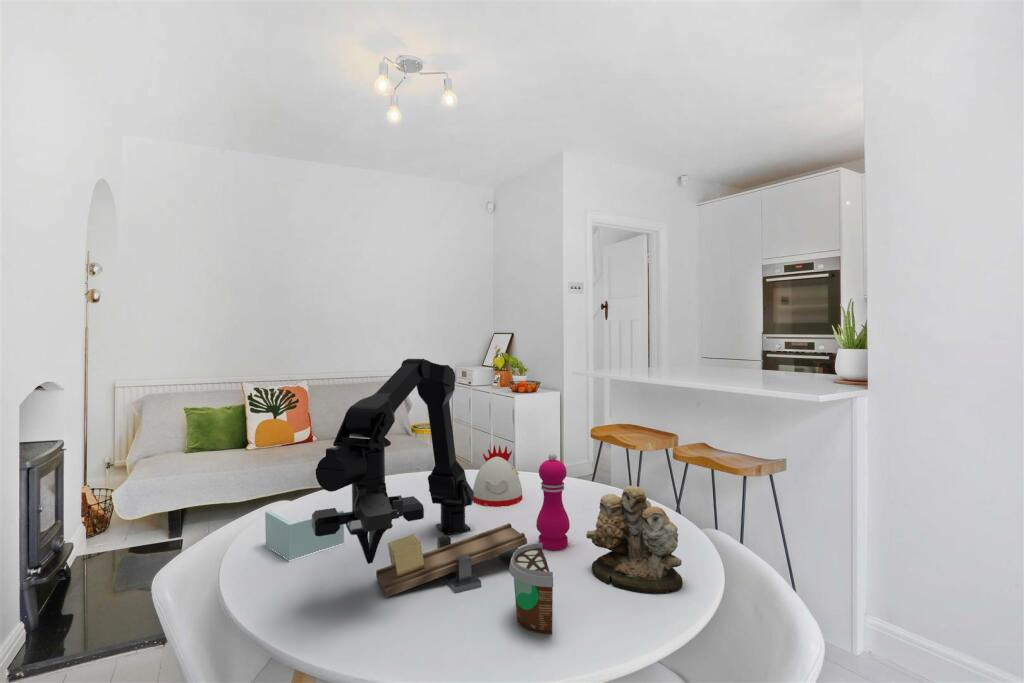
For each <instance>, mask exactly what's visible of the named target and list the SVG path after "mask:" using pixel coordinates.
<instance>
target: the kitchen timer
mask: <svg viewBox="0 0 1024 683" xmlns="http://www.w3.org/2000/svg"><path fill="white" fill-rule="evenodd" d="M512 452H513V449H511V450H510V451H509V453H508V446H507V445H505V447H504V451H502V449H501V445H500V444H499V446H498V451H497V449H496V445H495V444H493V449H492V452H491V450H490V449H489V448H488V449H487V453H488V457H487V456H486V455H485V453H484V452H483V453H482V456H483V459H484V460H485V462H483V464H482V465H481V467H480V469H479V470H478V472H477V474H476V478H475V480H474V484H473V488H472V490H473V492H474V498H473V502H472V503H474V504H476V505H478V506H482V507H483V506H484V507H488V506H489V507H490V508H492V507H493V508H497V507H498V508H500V507H501V506H504V507H510V505H511V506H514V505H517V504H519V503H521V502H522V501H523V489H522V488H523V487H522V483H521V480H520V478H519V472H518V470H516V469H515V467H514V466H513V464H512V463H511V462H510V461H509V460H510V457H511V455H512ZM521 500H522V501H521ZM520 501H521V502H520Z"/></svg>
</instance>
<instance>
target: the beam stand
mask: <svg viewBox="0 0 1024 683" xmlns="http://www.w3.org/2000/svg"><path fill="white" fill-rule="evenodd" d="M436 543H437V545H436V546H437V547H436V549H438V548H441V547H444V546H446V545H449V544H452V537H451V536H450V535H444V536H440V537H437V538H436ZM519 548H520V547H518V548H515V549H512V550H510V551H507V552H504V553H502V554H499V555H497V556H498V557H499V558H501V560H503V561H504V562H505V563H506V565H508V566H510V562H511V558H512V556H513V553H514V552H515V551H516V550H517V549H519ZM441 578H442V579H443V578H444V579H443V580H444V582H446V584H447V583H448V584H449V585H448V584H447V585H448V586H449V587H450V589H451V590H452V589H453V590H452V591H453V592H454V593H455V594H457V593H461V592H465V591H469V590H474V589H478V588H482V581H481V580H480V578H478V576H477V575H476V574H475V573H474V572H473V571H472V565H471V557H470V556H469V555H467V556H462V557H457V558H456V571H454V572H452V573H449V574H447V575H444V576H441Z"/></svg>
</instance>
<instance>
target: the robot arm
mask: <svg viewBox="0 0 1024 683" xmlns="http://www.w3.org/2000/svg"><path fill="white" fill-rule="evenodd" d="M455 382H456V373H455V371H454V369H453V368H452V367H451V366H450V365H448V364H440V363H439V364H438V363H435V362H431V361H429V360H427V359H425V358H407V359H404V360H402V362H401V365H400V367H399V368H398V369H397V370H395V373H393V374H392V375H391V376H390V377H389V378H388V379H387V380H386V382H384V383H383V385H382V386H381V387H380V388H379V389H378V390H377V391H376V392H375V393H373V394H372V395H370V396H367V397H364V398H362V399H359V400H358V401H357V402H355V403H354V404H352V405H351V406H350V407H349V408H348V409H347V410H346V412H345V415H344V417H343V420H342V423H341V424H340V427H339V429H338V431H337V433H336V434H337V435H336V437H335V438H334V441H333V443H332V445H333V447H328V448H326V449H325V456H324V457H322V458H321V459H320V460H319V461H318V463H317V465H316V468H315V479H316V481H317V483H318V485H319V486H320V487H321V488H322V489H323V490H325V491H327V492H329V493H330V492H331V493H332V492H336V491H338V490H341V489H343V488H345V487H349V486H351V511H347V512H344V513H339V514H338V512H337V511H338V509H336V507H331V508H325V509H318V510H315V511H314V512H313V513H312V514H311V518H312V528H313V531H314V534H315V536H325V535H331V534H336V532H337V531H338V530H339V529H340V525H343V524H344V525H345V527H346V529H347V530H348V533H349V534H350V535H351V536H355V535H356V537H357V539H358V541H359V545H360V547H361V549H362V553H363V555H364V558H365V561H366V563H367V564H368V565H369V564H373V562H374V559H375V557H376V553H377V551H378V547H379V544H380V542H381V539H382V538H383V535H384V534H385V532H387V531H388V530H390V529H392V528H393V526H394V525H393V520H396V519H400V517H402V518H403V519H404V520H405V521H407V522H412V521H413V522H414V521H418V520H423V519H424V518H425V508H424V504H423V503H422V502H420V501H419V499H417V497H415V496H413V495H412V496H406V497H405V496H404V497H402V495H393V496H392V495H391V496H389V494H388V492H387V483H386V468H385V467H386V462H385V460H386V459H385V458H386V457H385V456H386V452H385V448H387V447H389V446H391V445H392V443H391V441H390V440H389V439H387V437H386V436H387V434H388V433H389V432H390V429H391V428H392V427H393V425H394V423H395V421H396V418H395V416H396V415H395V413H396V411H397V409H398V408H399V407H400V406H401V405H402V403H403V402H404V401H405V400H406V399H407V398H408V396H409V395H410V394H411V393H412V392H413V391H414V389H415V388H416V389H417V390H416V391H417V394H418V396H419V398H420V399H421V400H422V401H423V402H424V404H425V405H426V407H427V413H428V414H427V416H428V421H429V430H430V436H431V443H432V444H431V445H432V452H433V453H432V454H433V460H434V466H433V469H432V470H431V472H430V474H429V475H428V476H427V482H428V492H429V493H430V494H429V495H430V499H431V503H432V504H434V505H435V504H437V505H440V523H436V524H435V527H436V528H437V529H438V530H439V531H440V532H441V533H442V535H444V536H449V535H452V534H458V533H459V534H460V533H463V532H468V531H469V532H470V531H471V527H470V526H469V525H468V524H467V523H466V507H468V506H472V505H473V503H474V502H473V498H474V492H473V488H472V487H471V485H470V484H469V482H468V480H467V477H466V476H467V475H466V472H465V469H464V468H463V467H462V465H461V464H460V463H459V462H458V461H457V454H456V448H455V440H454V431H453V421H452V414H451V408H450V407H451V406H450V400H451V398H452V396H453V394H454V392H455V390H456V387H455V384H456V383H455Z"/></svg>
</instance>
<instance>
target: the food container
mask: <svg viewBox="0 0 1024 683" xmlns="http://www.w3.org/2000/svg"><path fill="white" fill-rule="evenodd" d="M518 548H519V549H517V550H516V551H515V552H514V553H513V556H512V558H511V562H510V565H509V566H508V567H509V568H508V571H509V574H510V575H511V577H513V585H514V586H513V587H514V596H515V598H514V599H515V611H516V621H517V623H518V624H519V626H520V627H522V628H523V629H525V630H527V631H528V632H532V633H535V634H539V635H553V602H554V600H553V598H554V596H553V594H554V592H553V590H554V589H553V588H554V572H553V571H550V568H549V565H548V561H547V558H546V556H545V553H544V551H543V548H542V543H539V542H536V543H535V542H534V543H531V544H530V543H529V544H526V545H523V546H520V547H518Z"/></svg>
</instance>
